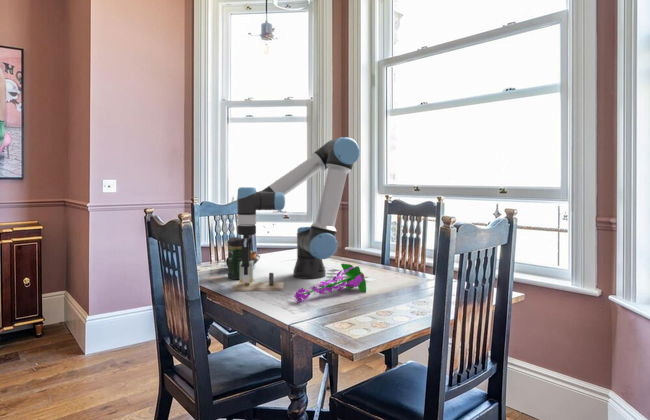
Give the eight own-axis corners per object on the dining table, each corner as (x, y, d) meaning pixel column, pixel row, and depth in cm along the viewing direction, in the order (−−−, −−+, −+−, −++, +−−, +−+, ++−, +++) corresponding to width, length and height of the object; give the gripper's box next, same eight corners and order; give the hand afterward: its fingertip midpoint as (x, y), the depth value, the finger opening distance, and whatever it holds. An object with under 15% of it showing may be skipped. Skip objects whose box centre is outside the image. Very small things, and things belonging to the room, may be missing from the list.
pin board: (283, 284, 182) (283, 270, 182) (283, 290, 172) (283, 275, 172) (236, 285, 180) (236, 271, 180) (233, 291, 170) (233, 276, 170)
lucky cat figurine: (254, 265, 221) (262, 244, 216) (253, 279, 210) (261, 257, 205) (225, 258, 217) (233, 236, 212) (223, 272, 206) (231, 249, 201)
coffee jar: (250, 278, 192) (250, 238, 191) (234, 280, 188) (233, 239, 187) (241, 274, 200) (241, 235, 199) (225, 276, 196) (225, 236, 195)
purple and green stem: (369, 298, 176) (307, 324, 152) (343, 273, 185) (280, 294, 161) (380, 275, 170) (317, 299, 146) (353, 251, 179) (289, 269, 155)
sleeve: (241, 279, 178) (241, 261, 177) (253, 279, 178) (253, 261, 178) (239, 282, 173) (239, 263, 172) (252, 282, 173) (252, 263, 173)
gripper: (239, 222, 183) (239, 276, 184) (234, 227, 165) (234, 286, 166) (257, 222, 183) (257, 275, 185) (254, 227, 165) (254, 285, 167)
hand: (246, 280), depth 176 cm, fingers closed on sleeve, 5 cm apart
